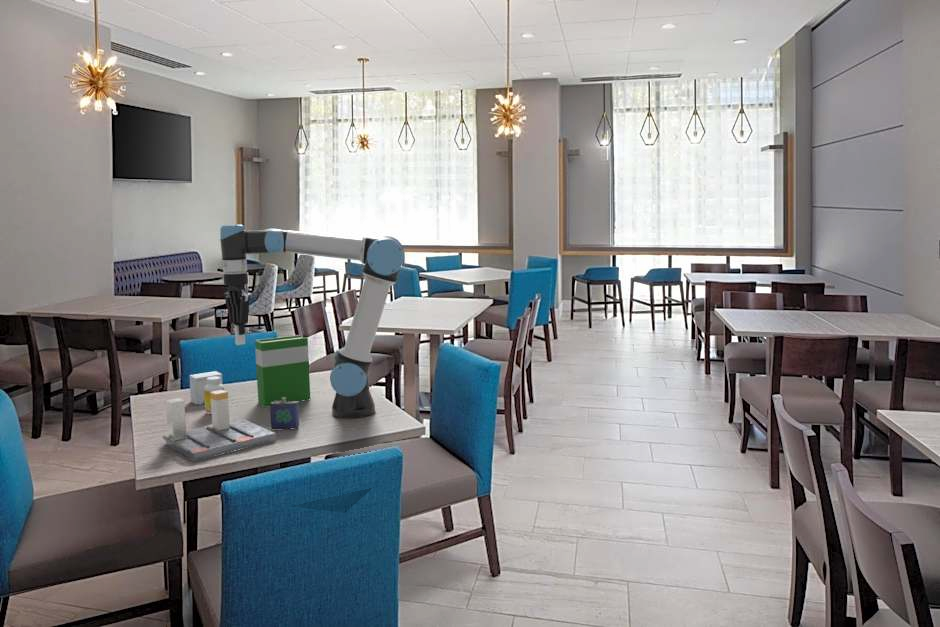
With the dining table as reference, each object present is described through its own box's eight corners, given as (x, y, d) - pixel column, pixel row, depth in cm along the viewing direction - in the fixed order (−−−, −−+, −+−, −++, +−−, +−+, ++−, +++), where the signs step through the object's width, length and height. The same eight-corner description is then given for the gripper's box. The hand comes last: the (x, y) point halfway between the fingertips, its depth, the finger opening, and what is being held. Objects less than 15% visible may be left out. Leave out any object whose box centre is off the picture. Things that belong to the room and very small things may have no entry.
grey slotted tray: (160, 444, 229) (157, 399, 227) (242, 425, 247) (240, 383, 245) (191, 462, 212) (187, 414, 210) (276, 441, 231) (274, 396, 228)
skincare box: (196, 405, 273) (195, 377, 272) (190, 401, 278) (188, 374, 276) (224, 400, 280) (222, 373, 278) (217, 396, 285) (215, 370, 283)
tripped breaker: (212, 428, 236) (209, 391, 234) (224, 425, 239) (222, 389, 237) (217, 430, 233) (215, 394, 231) (230, 428, 236) (227, 391, 234)
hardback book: (303, 395, 285) (300, 334, 282) (310, 399, 279) (307, 337, 275) (258, 402, 275) (254, 340, 272) (264, 407, 269) (261, 343, 266)
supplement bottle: (219, 415, 259) (216, 380, 257) (202, 415, 260) (199, 379, 258) (229, 410, 265) (226, 376, 264) (212, 409, 267) (210, 375, 265)
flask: (299, 426, 246) (298, 395, 244) (298, 429, 243) (296, 397, 241) (271, 427, 245) (269, 396, 243) (270, 430, 242) (268, 398, 240)
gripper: (214, 272, 239) (220, 343, 243) (234, 274, 230) (240, 348, 234) (235, 270, 245) (241, 340, 248) (256, 272, 236) (261, 344, 239)
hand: (240, 344), depth 241 cm, fingers closed
